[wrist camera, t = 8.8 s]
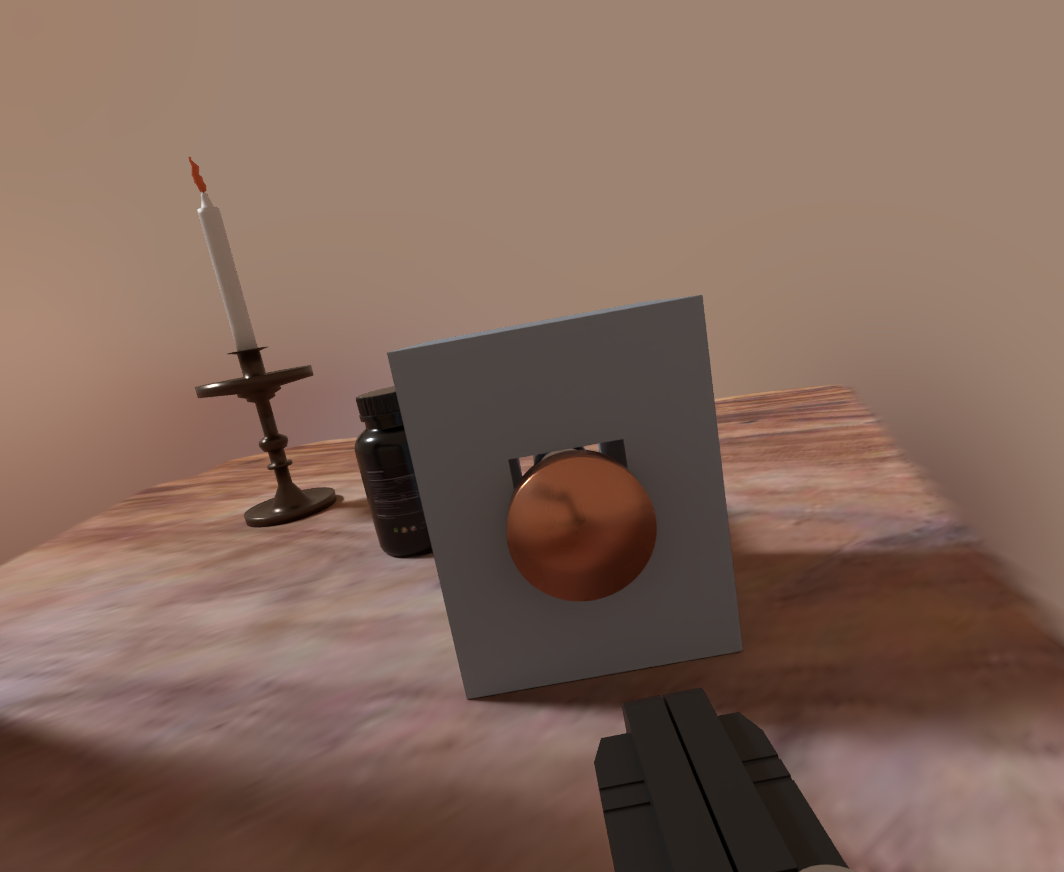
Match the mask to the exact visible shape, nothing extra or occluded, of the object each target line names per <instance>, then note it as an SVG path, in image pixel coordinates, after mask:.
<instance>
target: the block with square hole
mask: <svg viewBox="0 0 1064 872" xmlns="http://www.w3.org/2000/svg"><path fill="white" fill-rule="evenodd" d="M387 355H388V359H389V364H390V368H391V372H392V376H393V381H394V385H395V390H396V394H397V398H398V403H399V407H400V411H401V416H402V420H403V424H404V429H405V433H406V437H407V442H408V446H409V450H410V455H411V459H412V463H413V468H414V472H415V476H416V481H417V485H418V489H419V494H420V498H421V502H422V507H423V511H424V515H425V520H426V524H427V528H428V533H429V537H430V541H431V546H432V550H433V554H434V559H435V563H436V567H437V572H438V576H439V580H440V585H441V589H442V593H443V598H444V602H445V606H446V611H447V615H448V619H449V624H450V628H451V632H452V637H453V641H454V645H455V650H456V654H457V658H458V663H459V667H460V671H461V676H462V680H463V684H464V689H465V693H466V697H467V699H472V698H477V697H483V696H489V695H494V694H500V693H506V692H511V691H517V690H523V689H528V688H534V687H540V686H546V685H551V684H557V683H563V682H568V681H574V680H580V679H585V678H591V677H597V676H603V675H608V674H614V673H620V672H625V671H631V670H637V669H642V668H648V667H654V666H660V665H665V664H671V663H677V662H682V661H688V660H694V659H699V658H705V657H711V656H717V655H722V654H728V653H734V652H739V651H743V646H742V638H741V629H740V620H739V611H738V603H737V594H736V585H735V576H734V568H733V559H732V550H731V542H730V533H729V524H728V515H727V507H726V498H725V489H724V480H723V472H722V463H721V454H720V445H719V437H718V428H717V419H716V410H715V402H714V393H713V384H712V376H711V368H710V358H709V349H708V342H707V332H706V323H705V314H704V306H703V297H702V295H699V296H689V297H681V298H673V299H664V300H656V301H647V302H641V303H635V304H630V305H624V306H619V307H614V308H608V309H603V310H597V311H592V312H587V313H581V314H575V315H571V316H565V317H559V318H554V319H548V320H543V321H538V322H532V323H526V324H521V325H516V326H511V327H505V328H499V329H494V330H488V331H483V332H478V333H473V334H467V335H461V336H456V337H451V338H446V339H440V340H434V341H429V342H425V343H421V344H418V345H414V346H411V347H407V348H403V349H399V350H396V351H392V352H389V353H387ZM592 444H598V447H599V453H602V454H605V455H607V456H610V457H612V458H614V459H615V460H617V461H619V462H620V463H622V464H623V465H624V466H625V467H627V468H628V469H629V470H630V471H631V473H632V474H633V475H634V476H635V477H636V479H637V480H638V482H639V483H640V484H641V486H642V487H643V488H644V490H645V491H646V493H647V494H648V496H649V498H650V500H651V502H652V505H653V508H654V511H655V515H656V522H657V535H656V542H655V547H654V549H653V552H652V555H651V557H650V559H649V561H648V563H647V565H646V566H645V568H644V569H643V571H642V572H641V573H640V574H639V575H638V577H637V578H636V579H635V580H634V581H632V582H631V583H630V584H629V585H628V586H626V587H625V588H623V589H622V590H620V591H618V592H616V593H614V594H613V595H610V596H607V597H605V598H601V599H597V600H592V601H567V600H562V599H558V598H555V597H552V596H550V595H547V594H545V593H544V592H542V591H540V590H538V589H537V588H536V587H534V586H533V585H531V584H530V583H529V582H528V581H527V580H526V579H525V578H524V577H523V575H522V574H521V573H520V572H519V570H518V569H517V567H516V565H515V564H514V562H513V559H512V557H511V555H510V551H509V548H508V542H507V514H508V507H509V502H510V499H511V496H512V493H513V491H514V489H515V487H516V485H517V484H518V482H519V481H520V479H521V478H522V472H521V466H520V461H519V458H520V457H526V456H531V455H537V454H543V453H548V452H554V451H559V450H565V449H570V448H576V447H581V446H587V445H592Z"/></svg>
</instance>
